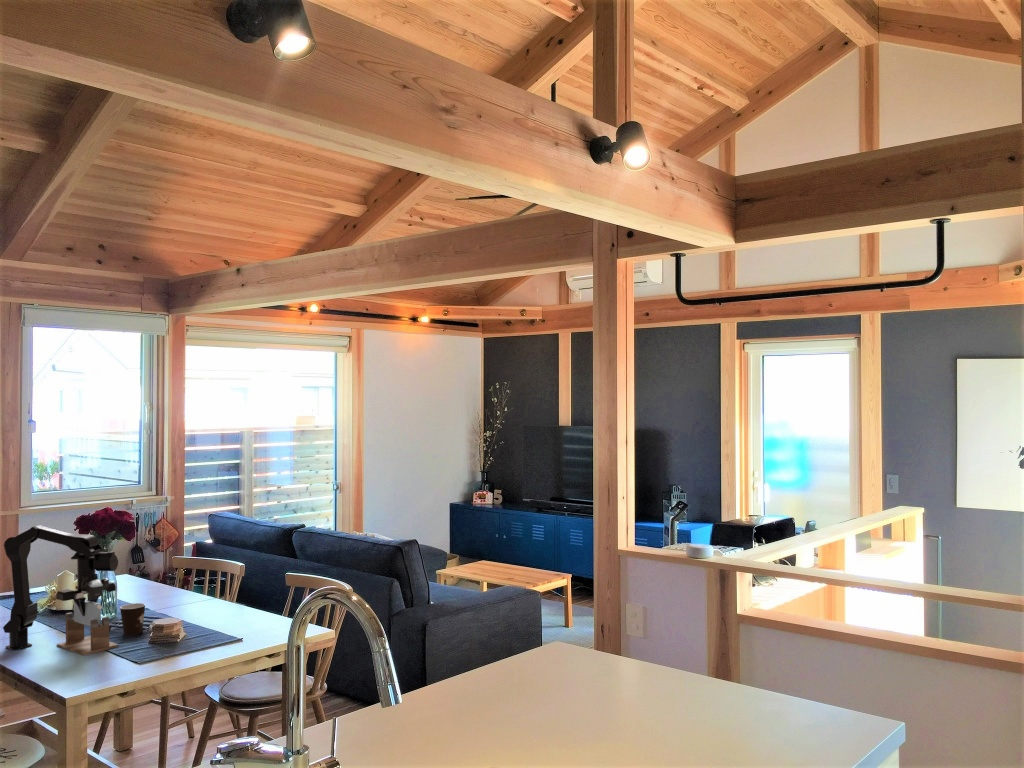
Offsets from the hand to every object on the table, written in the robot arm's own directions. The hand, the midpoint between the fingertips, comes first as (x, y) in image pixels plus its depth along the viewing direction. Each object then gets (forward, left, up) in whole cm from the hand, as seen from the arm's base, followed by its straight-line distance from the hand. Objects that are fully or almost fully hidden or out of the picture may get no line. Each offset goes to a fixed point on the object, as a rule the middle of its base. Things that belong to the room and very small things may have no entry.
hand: (86, 615), depth 296 cm
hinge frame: (0, 0, -11) cm, 11 cm away
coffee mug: (-3, +20, -11) cm, 23 cm away
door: (0, 0, -3) cm, 3 cm away
